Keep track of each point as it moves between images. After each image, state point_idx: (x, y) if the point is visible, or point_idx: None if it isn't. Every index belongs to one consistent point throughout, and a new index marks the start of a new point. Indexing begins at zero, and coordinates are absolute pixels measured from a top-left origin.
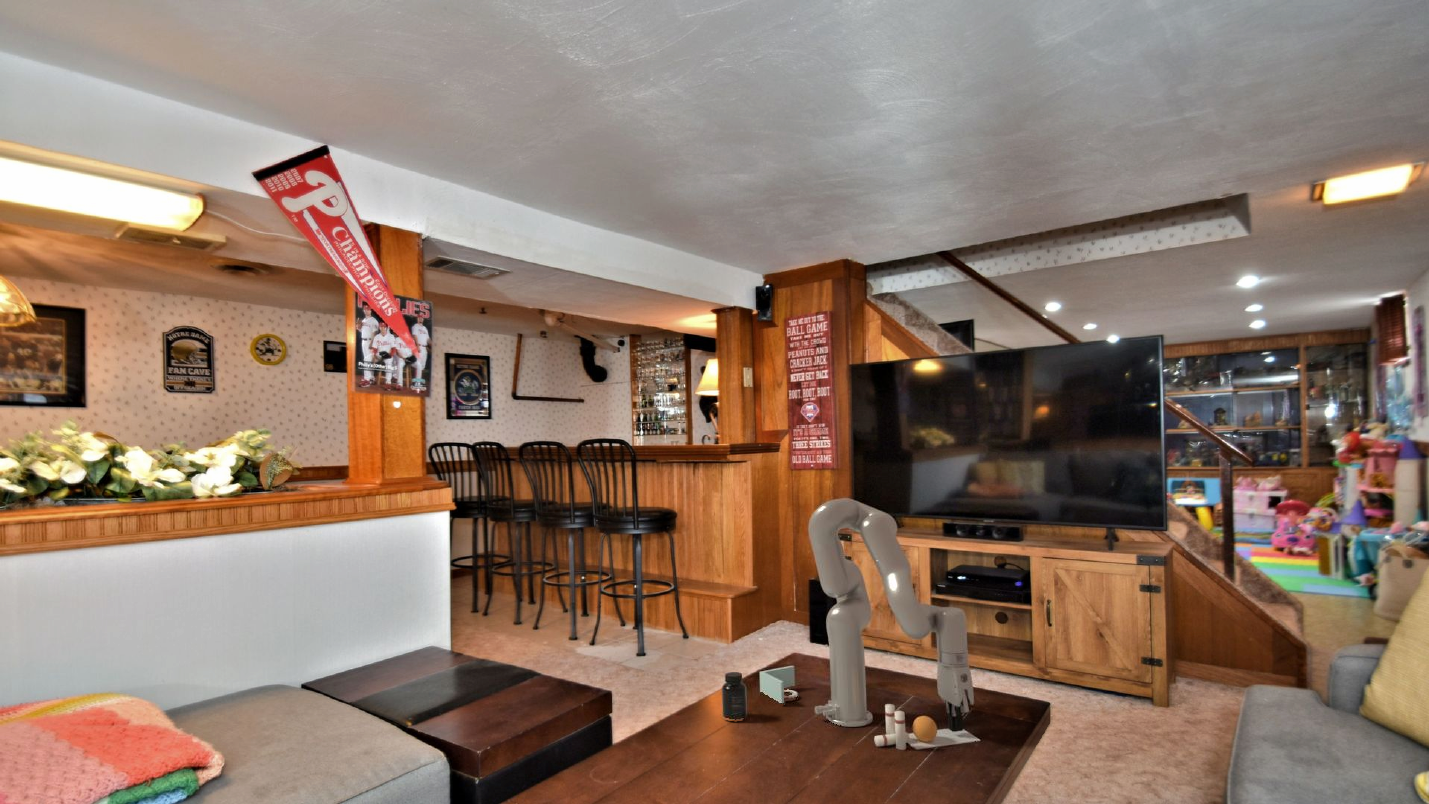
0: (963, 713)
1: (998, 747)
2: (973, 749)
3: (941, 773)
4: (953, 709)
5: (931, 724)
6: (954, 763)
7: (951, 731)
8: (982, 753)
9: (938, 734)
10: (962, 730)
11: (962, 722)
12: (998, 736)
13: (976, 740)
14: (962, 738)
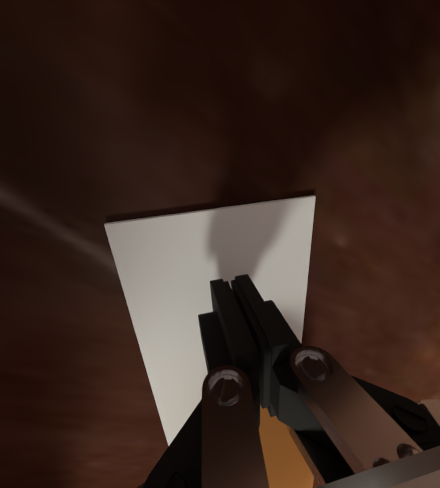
0: (334, 361)
1: (411, 143)
2: (370, 268)
3: (432, 392)
4: (337, 467)
5: (312, 474)
6: (413, 356)
7: (169, 293)
8: (413, 250)
9: (196, 354)
10: (247, 275)
11: (263, 302)
12: (297, 26)
13: (311, 219)
14: (268, 274)
